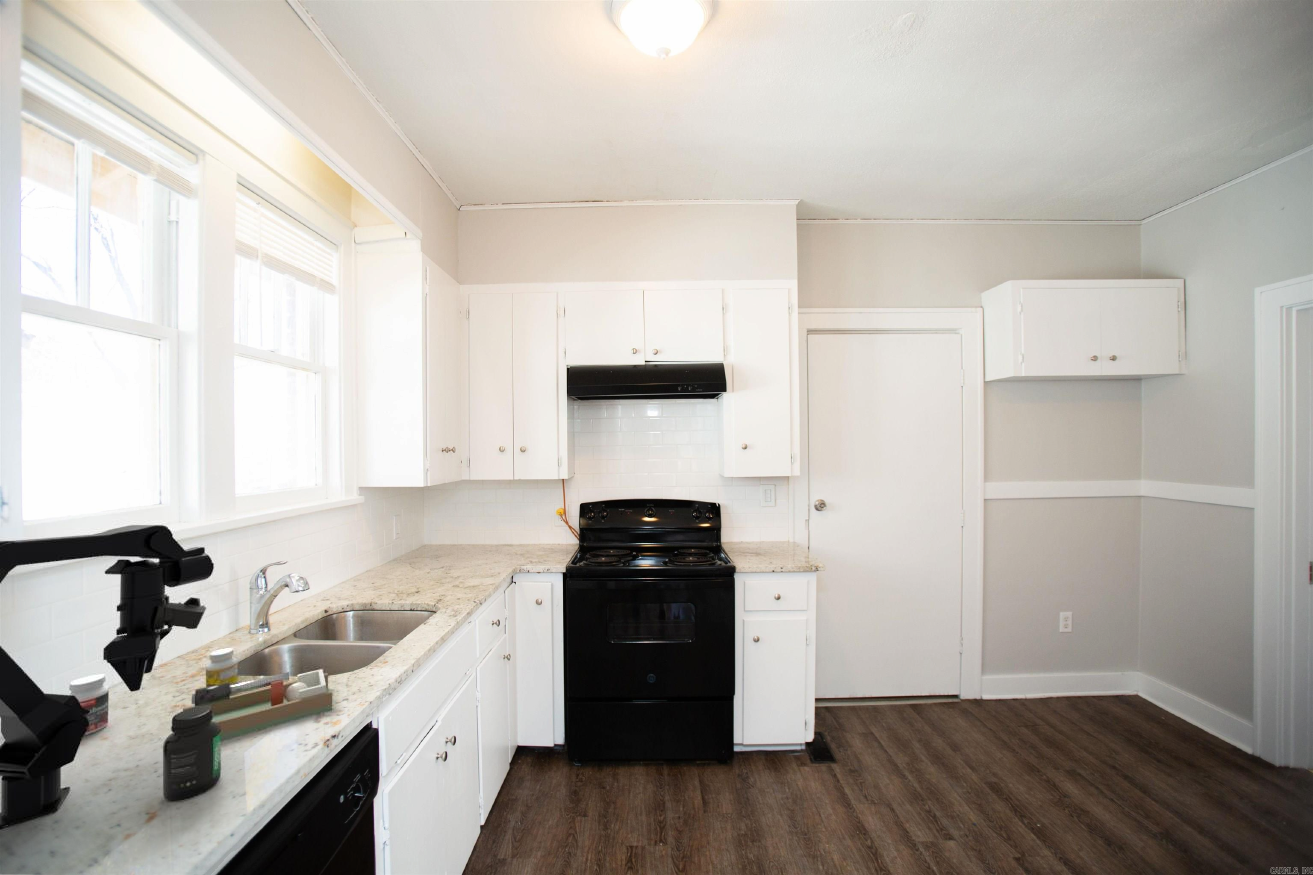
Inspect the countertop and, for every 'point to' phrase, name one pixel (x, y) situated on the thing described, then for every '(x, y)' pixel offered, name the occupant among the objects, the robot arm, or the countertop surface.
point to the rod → (241, 690)
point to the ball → (294, 691)
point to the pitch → (264, 710)
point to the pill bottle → (92, 700)
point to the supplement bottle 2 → (222, 668)
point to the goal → (312, 683)
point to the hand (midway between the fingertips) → (141, 681)
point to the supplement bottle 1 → (191, 754)
